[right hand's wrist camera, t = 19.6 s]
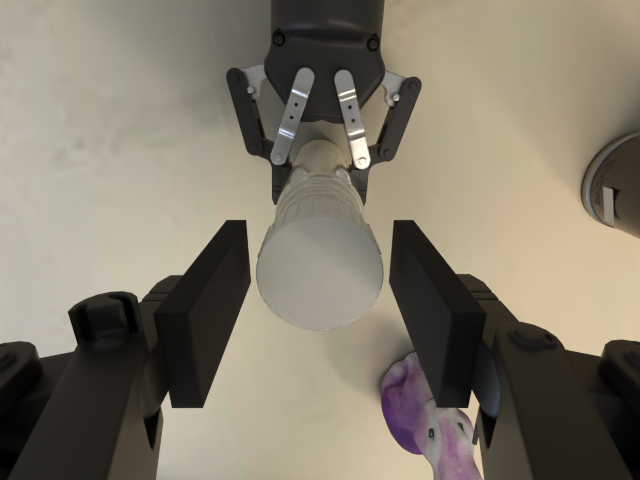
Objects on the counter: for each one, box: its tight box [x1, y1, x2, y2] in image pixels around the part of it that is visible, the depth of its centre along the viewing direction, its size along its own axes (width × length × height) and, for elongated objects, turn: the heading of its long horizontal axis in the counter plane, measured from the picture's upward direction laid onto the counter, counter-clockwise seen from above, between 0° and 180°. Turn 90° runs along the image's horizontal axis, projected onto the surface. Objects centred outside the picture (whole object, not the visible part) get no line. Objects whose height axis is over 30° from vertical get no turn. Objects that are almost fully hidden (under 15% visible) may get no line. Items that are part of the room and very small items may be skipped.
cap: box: [256, 198, 383, 330], centre depth 13 cm, size 4×4×2 cm
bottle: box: [275, 140, 365, 219], centre depth 23 cm, size 5×5×23 cm
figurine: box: [381, 352, 483, 480], centre depth 36 cm, size 9×10×15 cm
